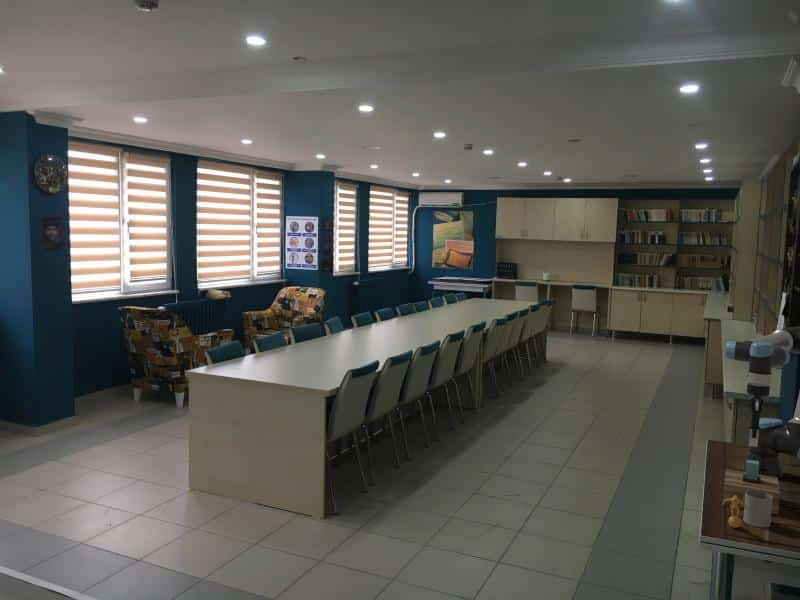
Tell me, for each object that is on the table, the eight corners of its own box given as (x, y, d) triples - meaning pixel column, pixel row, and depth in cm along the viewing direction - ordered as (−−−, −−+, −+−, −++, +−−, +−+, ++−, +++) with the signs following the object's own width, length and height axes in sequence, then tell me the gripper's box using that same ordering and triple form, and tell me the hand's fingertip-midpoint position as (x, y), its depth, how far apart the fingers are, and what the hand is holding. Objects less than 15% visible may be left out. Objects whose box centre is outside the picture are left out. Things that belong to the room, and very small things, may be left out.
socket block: (724, 488, 266) (725, 466, 265) (776, 497, 258) (778, 474, 257) (722, 504, 250) (724, 480, 249) (778, 514, 242) (780, 489, 241)
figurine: (749, 528, 229) (751, 494, 228) (745, 534, 224) (748, 500, 223) (722, 522, 234) (725, 488, 233) (718, 527, 229) (721, 493, 228)
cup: (739, 521, 235) (741, 494, 234) (748, 515, 241) (750, 488, 240) (766, 529, 229) (768, 501, 228) (773, 522, 235) (776, 495, 234)
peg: (745, 479, 256) (746, 459, 255) (757, 481, 254) (758, 461, 253) (745, 483, 252) (746, 462, 252) (757, 485, 250) (758, 464, 250)
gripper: (747, 380, 258) (742, 440, 260) (747, 385, 246) (741, 448, 248) (769, 382, 254) (764, 443, 256) (770, 388, 243) (764, 452, 245)
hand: (753, 445), depth 252 cm, fingers closed
